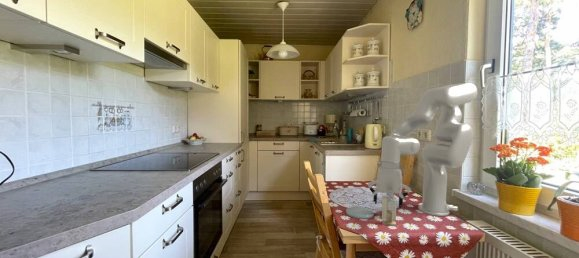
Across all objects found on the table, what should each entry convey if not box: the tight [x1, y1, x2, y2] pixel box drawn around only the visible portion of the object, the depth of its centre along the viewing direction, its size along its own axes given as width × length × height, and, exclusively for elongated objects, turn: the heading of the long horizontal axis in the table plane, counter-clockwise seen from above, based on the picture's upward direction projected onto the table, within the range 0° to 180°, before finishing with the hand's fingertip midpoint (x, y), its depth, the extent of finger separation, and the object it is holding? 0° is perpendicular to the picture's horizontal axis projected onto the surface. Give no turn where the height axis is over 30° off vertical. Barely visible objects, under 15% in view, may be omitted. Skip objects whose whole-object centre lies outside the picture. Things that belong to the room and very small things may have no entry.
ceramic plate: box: [345, 206, 375, 220], centre depth 118 cm, size 12×12×1 cm
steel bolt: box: [386, 190, 395, 211], centre depth 99 cm, size 2×16×3 cm, turn 161°
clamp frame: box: [381, 193, 397, 227], centre depth 113 cm, size 5×17×10 cm, turn 161°
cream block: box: [381, 194, 398, 222], centre depth 114 cm, size 6×6×9 cm
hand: (387, 205), depth 113 cm, fingers open, 9 cm apart
